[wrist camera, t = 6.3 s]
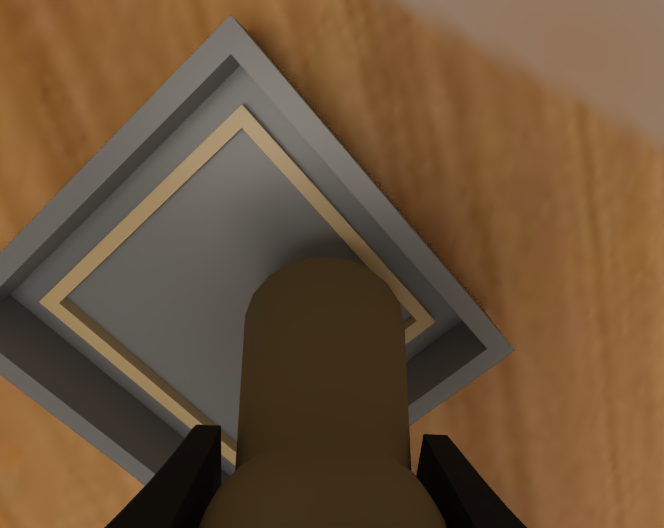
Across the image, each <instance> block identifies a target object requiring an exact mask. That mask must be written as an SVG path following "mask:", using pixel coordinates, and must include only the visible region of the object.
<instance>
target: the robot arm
mask: <svg viewBox="0 0 664 528" xmlns="http://www.w3.org/2000/svg"><path fill="white" fill-rule="evenodd" d="M416 477H417V478H418V479H419V481H420V482H421V484H422V485H423V486H424V488H425V489H426V490H427V492H428V493H429V494H430V496H431V497H432V499H433V501H434V503H435V504H436V506H437V508H438V509H439V511H440V513H441V515H442V516H443V518H444V520H445V523H446V527H447V528H527V527H526V526H525V525H524V524H523V523H522V522H521V521H520V520H519V519H518V518H517V517H516V516H515V515H514V514H513V513H512V512H511V510H510V509H509V508H508V507H507V506H506V505H505V504H504V503H503V502H502V500H501V499H500V498H499V497H498V496H497V495H496V494H495V492H494V491H493V490H492V489H491V488H490V487H489V486H488V484H487V483H486V482H485V481H484V480H483V479H482V477H481V476H480V475H479V474H478V473H477V471H476V470H475V469H474V468H473V466H472V465H471V464H470V463H469V462H468V460H467V459H466V458H465V457H464V455H463V454H462V453H461V452H460V450H459V449H458V448H457V447H456V445H455V444H454V443H453V442H452V441H451V439H450V438H449V437H448V436H447V435H429V434H424V435H423V441H422V447H421V452H420V458H419V464H418V470H417V475H416ZM220 486H221V426H220V425H195V426H194V427H193V428H192V429H191V430H190V432H189V433H188V435H187V436H186V437H185V439H184V440H183V441H182V442H181V444H180V445H179V446H178V448H177V449H176V450H175V451H174V453H173V454H172V455H171V456H170V457H169V459H168V460H167V461H166V462H165V464H164V465H163V466H162V467H161V468H160V469H159V471H158V472H157V473H156V474H155V475H154V476H153V477H152V479H151V480H150V481H149V482H148V483H147V484H146V485H145V487H144V488H143V489H142V490H141V491H140V492H139V493H138V494H137V495H136V496H135V497H134V498H133V499H132V500H131V501H130V502H129V503H128V504H127V506H126V507H125V508H124V509H123V510H122V511H121V512H120V513H119V514H118V515H117V516H116V517H115V518H114V519H113V520H112V521H111V522H110V523H109V524H108V525H107V526H106V527H105V528H198V527H199V524H200V522H201V520H202V517H203V515H204V513H205V510H206V508H207V507H208V505H209V503H210V502H211V500H212V498H213V497H214V495H215V493H216V492H217V490H218V488H219V487H220Z"/></svg>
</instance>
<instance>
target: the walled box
mask: <svg viewBox="0 0 664 528" xmlns="http://www.w3.org/2000/svg"><path fill="white" fill-rule="evenodd" d="M313 257H329V258H344V259H346V260H349V261H352V262H354V263H357V264H359V265H362V266H365V267H367V268H369V269H370V270H371V271H373V272H374V273H375V274H376V275H378V276H379V277H380V278H382V279H383V280H384V281H385V282H387V283H388V285H389V287H390V288H391V290H392V291H393V293H394V294H395V296H396V298H397V299H398V301H399V302H400V306H401V310H402V315H403V320H404V324H405V345H406V368H407V390H408V412H409V426H410V425H411V424H413V423H414V422H415V421H417V420H418V419H420V418H421V417H422V416H424V415H425V414H426V413H428V412H429V411H431V410H432V409H433V408H435V407H436V406H438V405H439V404H440V403H442V402H443V401H445V400H446V399H447V398H449V397H450V396H452V395H453V394H454V393H456V392H457V391H459V390H460V389H461V388H463V387H464V386H466V385H467V384H468V383H470V382H471V381H473V380H474V379H475V378H477V377H478V376H480V375H481V374H482V373H484V372H485V371H487V370H488V369H489V368H491V367H492V366H494V365H495V364H496V363H498V362H499V361H501V360H502V359H503V358H505V357H506V356H508V355H509V354H510V353H512V352H513V351H515V350H514V348H513V347H512V346H511V345H510V343H509V342H508V341H507V339H506V338H505V337H504V336H503V334H502V333H501V332H500V331H499V329H498V328H497V327H496V325H495V324H494V323H493V322H492V320H491V319H490V318H489V316H488V315H487V314H486V313H485V311H484V310H483V309H482V308H481V307H480V306H479V304H478V303H477V302H476V301H475V300H474V298H473V297H472V296H471V295H470V294H469V293H468V291H467V290H466V289H465V288H464V287H463V285H462V284H461V283H460V282H459V281H458V280H457V278H456V277H455V276H454V275H453V274H452V272H451V271H450V270H449V269H448V268H447V267H446V265H445V264H444V263H443V262H442V261H441V259H440V258H439V257H438V256H437V255H436V254H435V252H434V251H433V250H432V249H431V248H430V246H429V245H428V244H427V243H426V242H425V240H424V239H423V238H422V237H421V236H420V235H419V233H418V232H417V231H416V230H415V229H414V227H413V226H412V225H411V224H410V223H409V222H408V220H407V219H406V218H405V217H404V216H403V214H402V213H401V212H400V211H399V210H398V209H397V207H396V206H395V205H394V204H393V203H392V201H391V200H390V199H389V198H388V197H387V196H386V194H385V193H384V192H383V191H382V190H381V188H380V187H379V186H378V185H377V184H376V183H375V181H374V180H373V179H372V178H371V177H370V175H369V174H368V173H367V172H366V171H365V169H364V168H363V167H362V166H361V165H360V164H359V162H358V161H357V160H356V159H355V158H354V156H353V155H352V154H351V153H350V152H349V151H348V149H347V148H346V147H345V146H344V145H343V143H342V142H341V141H340V140H339V139H338V138H337V136H336V135H335V134H334V133H333V132H332V130H331V129H330V128H329V127H328V126H327V125H326V123H325V122H324V121H323V120H322V119H321V117H320V116H319V115H318V114H317V113H316V112H315V110H314V109H313V108H312V107H311V106H310V104H309V103H308V102H307V101H306V100H305V98H304V97H303V96H302V95H301V94H300V93H299V91H298V90H297V89H296V88H295V87H294V85H293V84H292V83H291V82H290V81H289V80H288V78H287V77H286V76H285V75H284V74H283V72H282V71H281V70H280V69H279V68H278V67H277V65H276V64H275V63H274V62H273V61H272V59H271V58H270V57H269V56H268V55H267V54H266V52H265V51H264V50H263V49H262V48H261V46H260V45H259V44H258V43H257V42H256V41H255V39H254V38H253V37H252V36H251V35H250V33H249V32H248V31H247V30H246V29H245V28H244V27H243V26H242V25H241V24H240V23H239V22H238V21H237V20H236V19H235V18H234V17H233V16H232V15H230V16H229V17H228V18H227V19H226V20H225V21H224V22H223V23H222V24H221V25H220V26H219V27H218V28H217V29H216V30H215V32H214V33H213V34H212V35H211V36H210V37H209V38H208V39H207V40H206V41H205V42H204V43H203V44H202V45H201V46H200V47H199V48H198V49H197V50H196V51H195V52H194V53H193V54H192V55H191V56H190V57H189V58H188V59H187V60H186V61H185V62H184V64H183V65H182V66H181V67H180V68H179V69H178V70H177V71H176V72H175V73H174V74H173V75H172V76H171V77H170V78H169V79H168V80H167V81H166V82H165V83H164V84H163V85H162V86H161V87H160V88H159V89H158V90H157V91H156V92H155V93H154V95H153V96H152V97H151V98H150V99H149V100H148V101H147V102H146V103H145V104H144V105H143V106H142V107H141V108H140V109H139V110H138V111H137V112H136V113H135V114H134V115H133V116H132V117H131V118H130V119H129V120H128V121H127V122H126V123H125V124H124V125H123V127H122V128H121V129H120V130H119V131H118V132H117V133H116V134H115V135H114V136H113V137H112V138H111V139H110V140H109V141H108V142H107V143H106V144H105V145H104V146H103V147H102V148H101V149H100V150H99V151H98V152H97V153H96V154H95V155H94V156H93V157H92V159H91V160H90V161H89V162H88V163H87V164H86V165H85V166H84V167H83V168H82V169H81V170H80V171H79V172H78V173H77V174H76V175H75V176H74V177H73V178H72V179H71V180H70V181H69V182H68V183H67V184H66V185H65V186H64V187H63V188H62V190H61V191H60V192H59V193H58V194H57V195H56V196H55V197H54V198H53V199H52V200H51V201H50V202H49V203H48V204H47V205H46V206H45V207H44V208H43V209H42V210H41V211H40V212H39V213H38V214H37V215H36V216H35V217H34V218H33V219H32V220H31V222H30V223H29V224H28V225H27V226H26V227H25V228H24V229H23V230H22V231H21V232H20V233H19V234H18V235H17V236H16V237H15V238H14V239H13V240H12V241H11V242H10V243H9V244H8V245H7V246H6V247H5V248H4V249H3V250H2V251H1V252H0V375H2V376H3V377H4V378H5V379H7V380H8V381H9V382H11V383H12V384H13V385H15V386H16V387H17V388H18V389H20V390H21V391H22V392H24V393H25V394H26V395H28V396H29V397H30V398H32V399H33V400H34V401H35V402H37V403H38V404H39V405H41V406H42V407H43V408H45V409H46V410H47V411H48V412H50V413H51V414H52V415H54V416H55V417H56V418H58V419H59V420H60V421H62V422H63V423H64V424H65V425H67V426H68V427H69V428H71V429H72V430H73V431H75V432H76V433H77V434H79V435H80V436H81V437H82V438H84V439H85V440H86V441H88V442H89V443H90V444H92V445H93V446H94V447H95V448H97V449H98V450H99V451H101V452H102V453H103V454H105V455H106V456H107V457H109V458H110V459H111V460H112V461H114V462H115V463H116V464H118V465H119V466H120V467H122V468H123V469H124V470H125V471H127V472H128V473H129V474H131V475H132V476H133V477H135V478H136V479H137V480H139V481H140V482H141V483H142V484H144V485H146V484H147V483H148V482H149V481H150V480H151V479H152V477H153V476H154V475H155V474H156V473H157V472H158V471H159V469H160V468H161V467H162V466H163V465H164V464H165V462H166V461H167V460H168V459H169V457H170V456H171V455H172V454H173V453H174V451H175V450H176V449H177V448H178V446H179V445H180V444H181V442H182V441H183V440H184V439H185V437H186V436H187V435H188V433H189V432H190V430H191V429H192V428H193V427H194V426H195V425H220V426H221V485H222V484H223V483H224V482H225V481H226V480H227V479H228V478H229V477H230V476H231V475H232V474H233V473H234V472H235V464H236V449H237V433H238V417H239V402H240V386H241V370H242V354H243V339H244V323H245V314H246V311H247V309H248V306H249V303H250V301H251V298H252V296H253V294H254V292H255V291H256V290H257V289H258V288H259V287H260V285H261V284H262V283H263V282H264V281H265V280H266V279H267V277H268V276H269V275H271V274H273V273H274V272H276V271H278V270H279V269H281V268H283V267H285V266H286V265H288V264H290V263H292V262H296V261H301V260H305V259H309V258H313Z"/></svg>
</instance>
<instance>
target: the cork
mask: <svg viewBox="0 0 664 528" xmlns="http://www.w3.org/2000/svg"><path fill="white" fill-rule="evenodd" d="M198 528H447V527H446V523H445V520H444V518H443V516H442V515H441V513H440V511H439V509H438V508H437V506H436V504H435V503H434V501H433V499H432V497H431V496H430V494H429V493H428V492H427V490H426V489H425V488H424V486H423V485H422V484H421V482H420V481H419V479H418V478H417V477H416V475H415V474H414V473H413V472H412V471H411V456H410V434H409V412H408V390H407V368H406V345H405V324H404V320H403V315H402V310H401V306H400V302H399V301H398V299H397V298H396V296H395V294H394V293H393V291H392V290H391V288H390V287H389V285H388V283H387V282H385V281H384V280H383V279H382V278H380V277H379V276H378V275H376V274H375V273H374V272H373V271H371V270H370V269H369V268H367V267H365V266H362V265H359V264H357V263H354V262H352V261H349V260H346V259H344V258H329V257H313V258H309V259H305V260H301V261H296V262H292V263H290V264H288V265H286V266H285V267H283V268H281V269H279V270H278V271H276V272H274V273H273V274H271V275H269V276H268V277H267V279H266V280H265V281H264V282H263V283H262V284H261V285H260V287H259V288H258V289H257V290H256V291H255V292H254V294H253V296H252V298H251V301H250V303H249V306H248V309H247V311H246V314H245V323H244V339H243V354H242V370H241V386H240V402H239V417H238V433H237V449H236V464H235V472H234V473H233V474H232V475H231V476H230V477H229V478H228V479H227V480H226V481H225V482H224V483H223V484H222V485H221V486H220V487H219V488H218V490H217V492H216V493H215V495H214V497H213V498H212V500H211V502H210V503H209V505H208V507H207V508H206V510H205V513H204V515H203V517H202V520H201V522H200V524H199V527H198Z"/></svg>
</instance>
